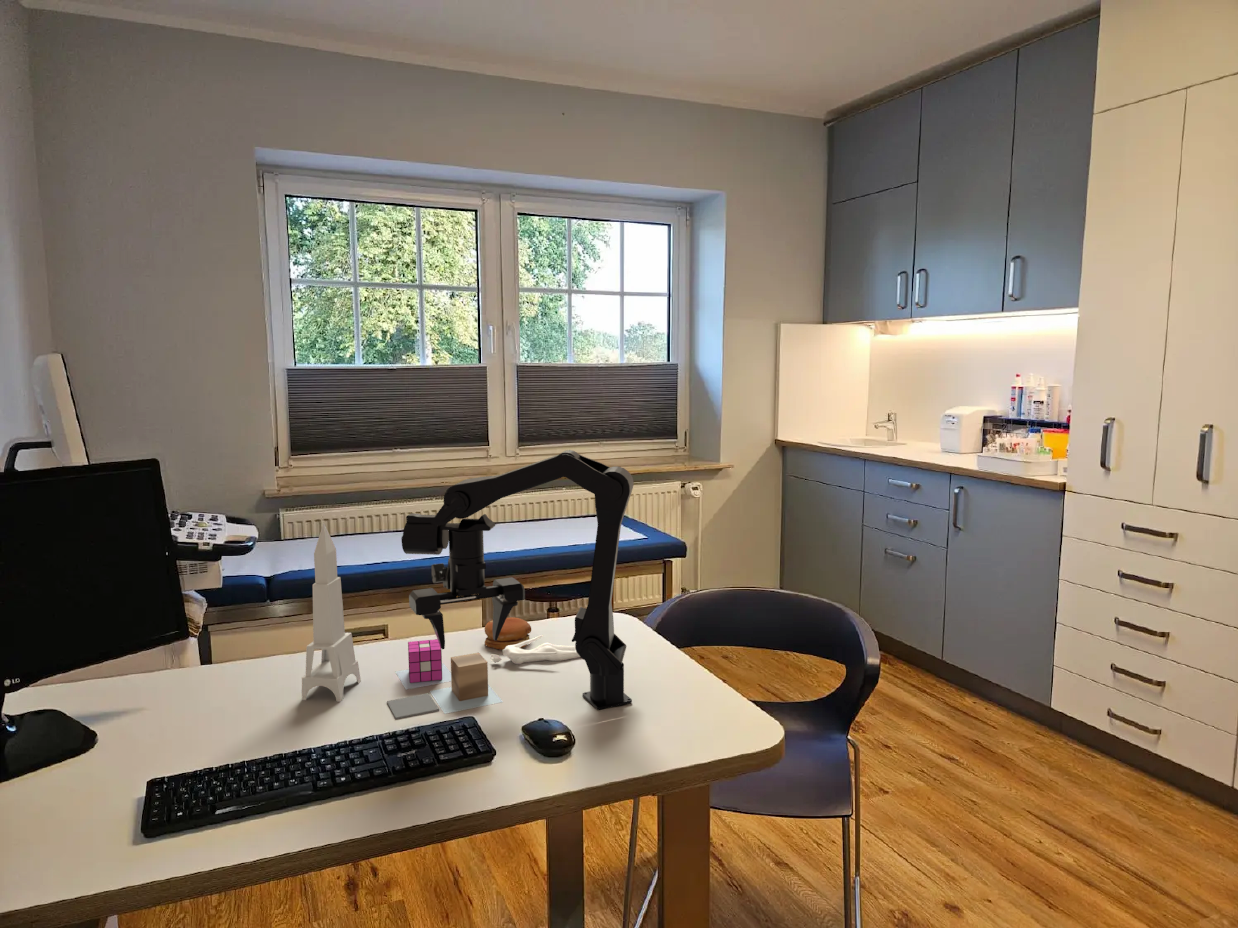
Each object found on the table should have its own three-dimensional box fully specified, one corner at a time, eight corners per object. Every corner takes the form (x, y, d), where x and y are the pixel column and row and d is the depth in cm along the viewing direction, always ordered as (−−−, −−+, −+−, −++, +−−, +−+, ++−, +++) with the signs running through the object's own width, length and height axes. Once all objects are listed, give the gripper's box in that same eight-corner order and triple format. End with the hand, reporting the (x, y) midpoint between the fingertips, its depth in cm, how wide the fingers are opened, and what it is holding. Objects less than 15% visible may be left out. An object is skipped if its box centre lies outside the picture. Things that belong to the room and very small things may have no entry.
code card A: (503, 702, 136) (503, 701, 136) (444, 714, 132) (444, 713, 132) (485, 681, 145) (485, 680, 145) (429, 691, 141) (429, 690, 141)
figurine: (607, 650, 166) (486, 654, 157) (608, 632, 166) (487, 636, 157) (624, 668, 156) (496, 674, 148) (626, 649, 156) (497, 654, 147)
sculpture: (361, 681, 145) (353, 517, 141) (340, 701, 137) (332, 527, 133) (324, 680, 145) (315, 516, 141) (301, 699, 137) (292, 526, 133)
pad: (439, 711, 133) (439, 708, 133) (395, 719, 130) (395, 717, 130) (428, 695, 139) (428, 692, 139) (387, 703, 136) (387, 700, 136)
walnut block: (488, 695, 139) (487, 661, 138) (459, 701, 136) (458, 667, 136) (479, 684, 143) (478, 652, 142) (451, 690, 141) (450, 657, 140)
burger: (524, 652, 159) (524, 629, 159) (478, 650, 160) (477, 628, 160) (535, 635, 169) (535, 614, 168) (492, 634, 170) (491, 612, 169)
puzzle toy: (409, 683, 144) (408, 652, 143) (409, 671, 149) (407, 641, 148) (442, 679, 145) (441, 649, 145) (440, 668, 151) (439, 638, 150)
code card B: (456, 680, 145) (456, 679, 145) (405, 689, 141) (405, 689, 141) (443, 663, 153) (443, 662, 153) (395, 671, 149) (395, 671, 149)
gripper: (503, 539, 148) (505, 622, 150) (400, 550, 139) (403, 638, 142) (525, 552, 138) (526, 640, 140) (415, 565, 130) (418, 659, 132)
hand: (469, 643), depth 139 cm, fingers open, 9 cm apart
